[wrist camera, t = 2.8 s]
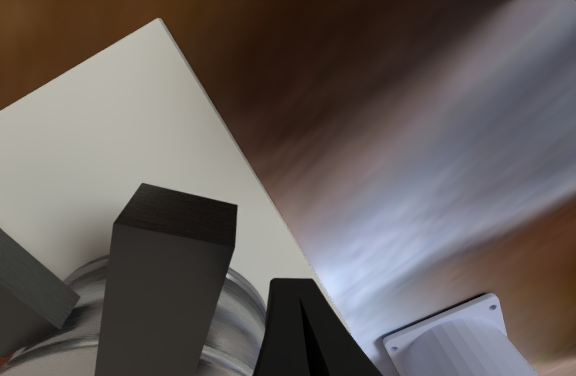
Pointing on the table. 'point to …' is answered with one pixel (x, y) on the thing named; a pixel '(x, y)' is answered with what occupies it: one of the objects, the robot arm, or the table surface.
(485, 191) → the table surface
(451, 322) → the robot arm
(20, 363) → the lid
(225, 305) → the pot
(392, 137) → the table surface
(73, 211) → the plate
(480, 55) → the table surface
